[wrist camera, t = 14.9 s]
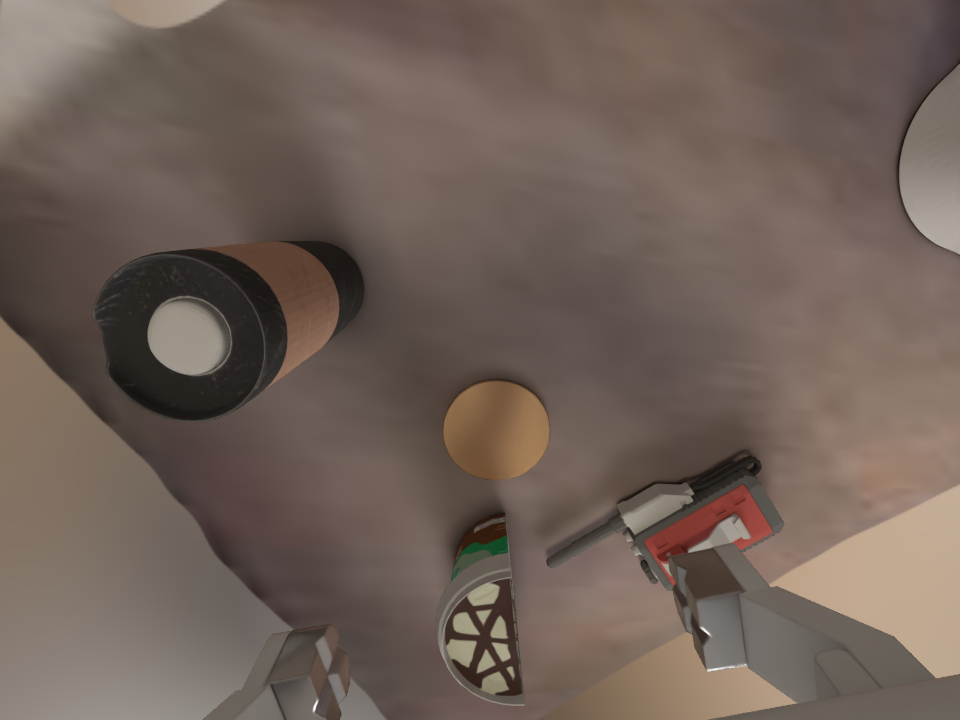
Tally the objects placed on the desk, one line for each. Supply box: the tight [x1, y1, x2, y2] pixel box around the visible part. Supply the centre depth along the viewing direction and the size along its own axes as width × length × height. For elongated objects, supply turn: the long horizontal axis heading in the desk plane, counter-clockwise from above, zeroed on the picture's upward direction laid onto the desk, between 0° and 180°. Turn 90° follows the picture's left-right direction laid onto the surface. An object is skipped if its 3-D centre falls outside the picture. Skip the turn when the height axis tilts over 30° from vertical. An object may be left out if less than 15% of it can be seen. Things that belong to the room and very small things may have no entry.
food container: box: [436, 513, 525, 706], centre depth 43 cm, size 12×6×10 cm, turn 6°
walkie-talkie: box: [546, 456, 784, 591], centre depth 45 cm, size 9×4×20 cm
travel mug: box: [92, 241, 364, 422], centre depth 32 cm, size 8×8×20 cm
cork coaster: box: [443, 379, 550, 480], centre depth 44 cm, size 9×9×1 cm
